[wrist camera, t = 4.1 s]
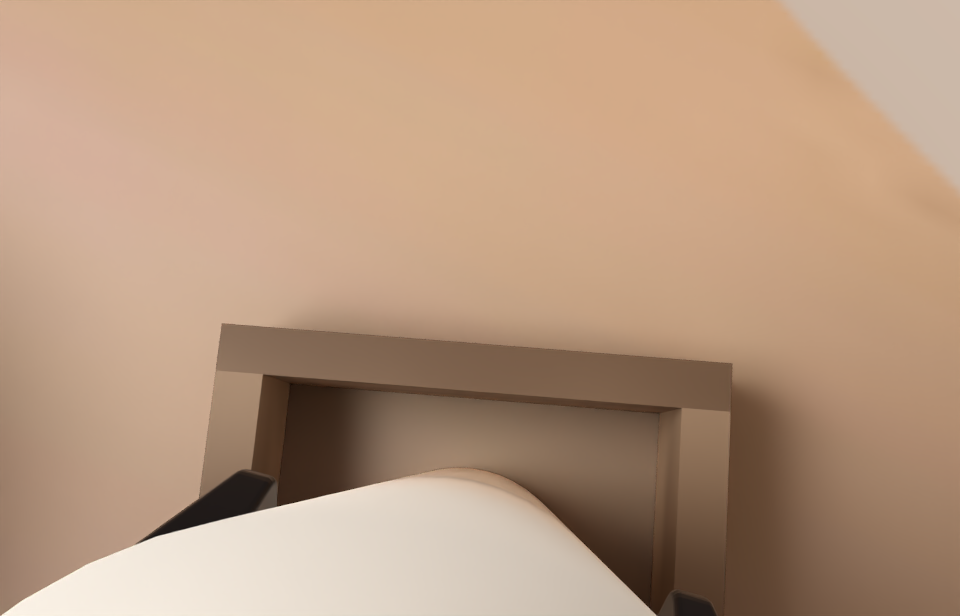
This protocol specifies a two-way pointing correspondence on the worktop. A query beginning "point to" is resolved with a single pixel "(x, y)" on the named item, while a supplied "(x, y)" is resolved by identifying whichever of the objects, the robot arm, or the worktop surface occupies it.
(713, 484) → the holder
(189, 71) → the worktop surface
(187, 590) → the salt mill
